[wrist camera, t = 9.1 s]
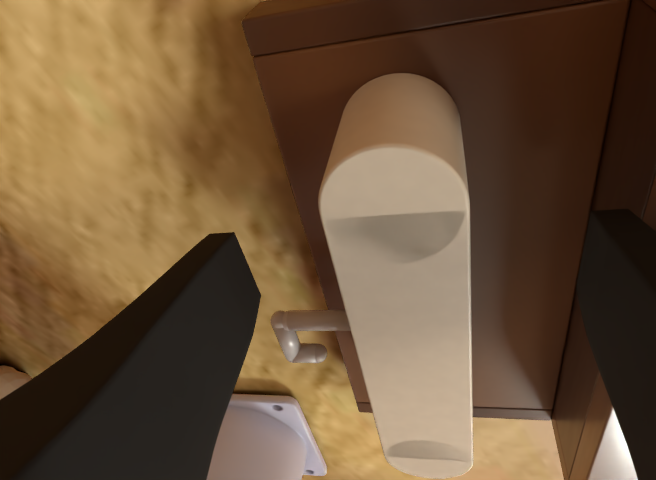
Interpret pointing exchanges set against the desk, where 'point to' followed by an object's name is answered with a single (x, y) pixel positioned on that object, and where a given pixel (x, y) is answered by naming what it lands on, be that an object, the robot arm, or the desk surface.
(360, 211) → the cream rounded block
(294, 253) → the desk surface
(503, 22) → the stepped wooden block
